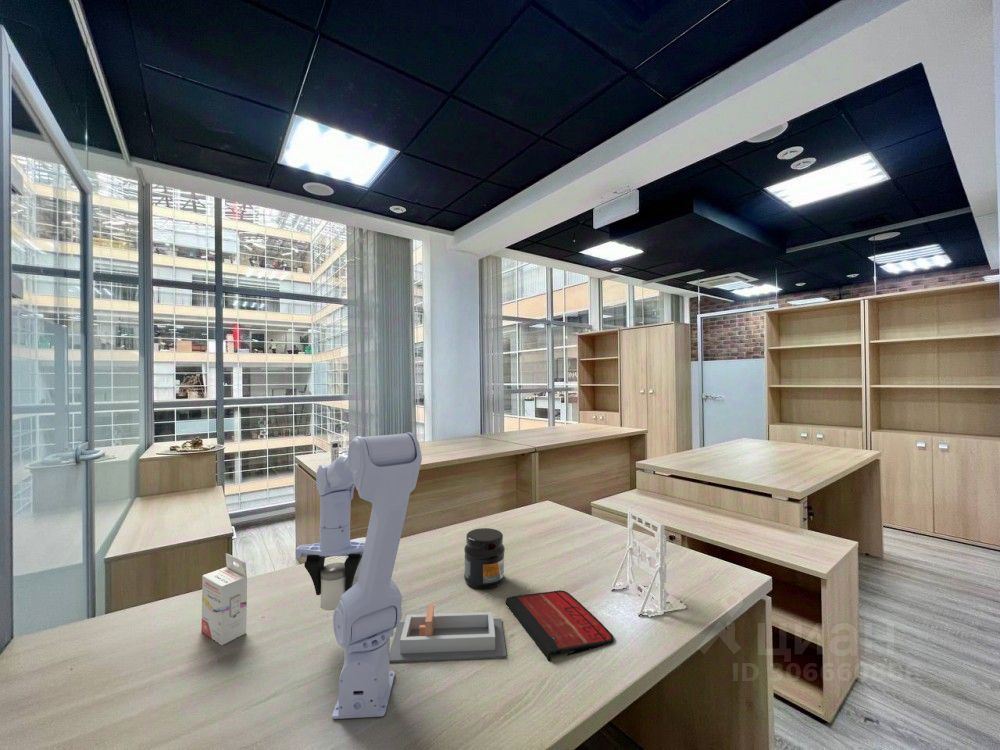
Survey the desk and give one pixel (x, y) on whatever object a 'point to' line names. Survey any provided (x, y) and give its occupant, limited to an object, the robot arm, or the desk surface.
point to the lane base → (449, 638)
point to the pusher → (428, 623)
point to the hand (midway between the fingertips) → (334, 592)
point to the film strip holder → (658, 555)
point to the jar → (332, 585)
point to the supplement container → (484, 558)
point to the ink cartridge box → (225, 601)
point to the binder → (558, 622)
